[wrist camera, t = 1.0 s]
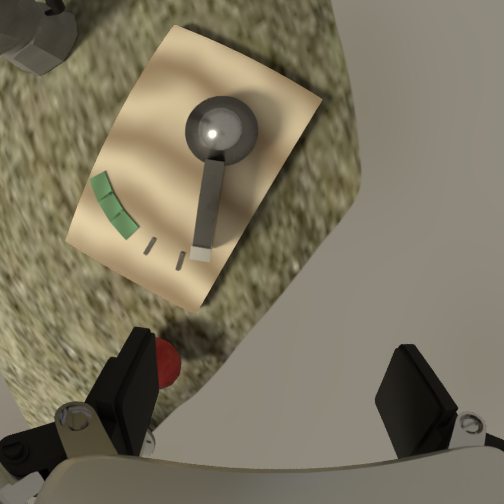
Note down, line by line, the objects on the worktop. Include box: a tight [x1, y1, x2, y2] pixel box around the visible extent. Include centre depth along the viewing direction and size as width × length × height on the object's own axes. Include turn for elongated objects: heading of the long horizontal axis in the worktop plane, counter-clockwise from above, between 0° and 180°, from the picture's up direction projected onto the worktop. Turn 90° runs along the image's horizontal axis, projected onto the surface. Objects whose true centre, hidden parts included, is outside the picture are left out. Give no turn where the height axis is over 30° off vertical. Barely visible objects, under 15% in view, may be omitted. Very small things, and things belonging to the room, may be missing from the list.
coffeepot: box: [0, 0, 78, 76], centre depth 17 cm, size 15×9×18 cm, turn 85°
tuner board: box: [66, 25, 323, 315], centre depth 30 cm, size 26×17×2 cm, turn 150°
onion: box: [155, 338, 181, 389], centre depth 33 cm, size 6×6×8 cm
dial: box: [185, 96, 258, 262], centre depth 28 cm, size 15×6×4 cm, turn 170°
